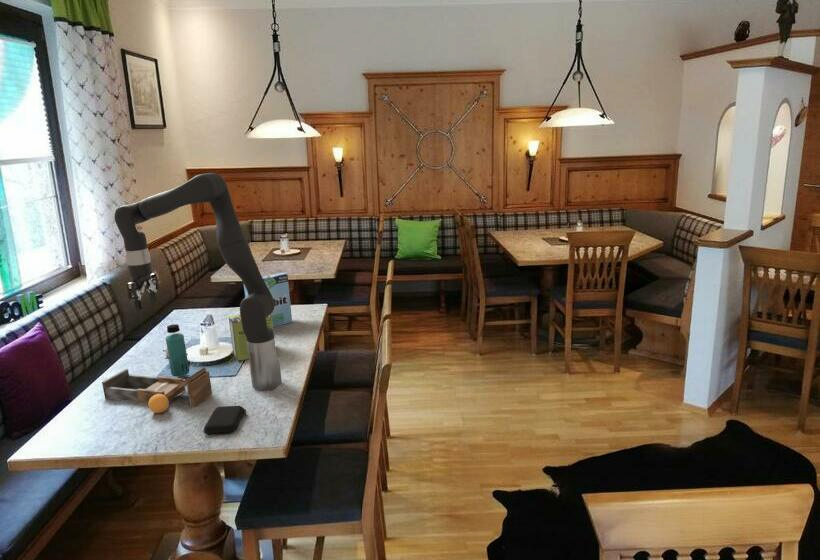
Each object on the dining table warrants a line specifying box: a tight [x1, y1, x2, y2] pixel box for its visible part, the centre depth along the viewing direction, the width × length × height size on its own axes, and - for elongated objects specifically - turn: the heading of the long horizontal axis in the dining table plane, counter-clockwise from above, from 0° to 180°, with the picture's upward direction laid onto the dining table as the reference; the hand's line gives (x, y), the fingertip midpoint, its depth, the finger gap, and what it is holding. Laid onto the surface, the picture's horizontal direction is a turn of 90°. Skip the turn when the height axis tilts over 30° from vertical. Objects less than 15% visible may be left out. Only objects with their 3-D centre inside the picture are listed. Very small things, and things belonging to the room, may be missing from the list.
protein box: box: [228, 314, 277, 362], centre depth 231 cm, size 10×15×16 cm
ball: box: [147, 394, 170, 414], centre depth 186 cm, size 6×6×6 cm
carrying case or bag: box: [203, 405, 247, 436], centre depth 178 cm, size 11×3×15 cm
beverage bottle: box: [165, 323, 190, 378], centre depth 210 cm, size 6×7×20 cm
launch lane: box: [101, 367, 213, 408], centre depth 197 cm, size 36×11×10 cm, turn 74°
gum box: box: [243, 272, 293, 328], centre depth 261 cm, size 20×5×23 cm, turn 127°
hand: (146, 306), depth 206 cm, fingers open, 8 cm apart
